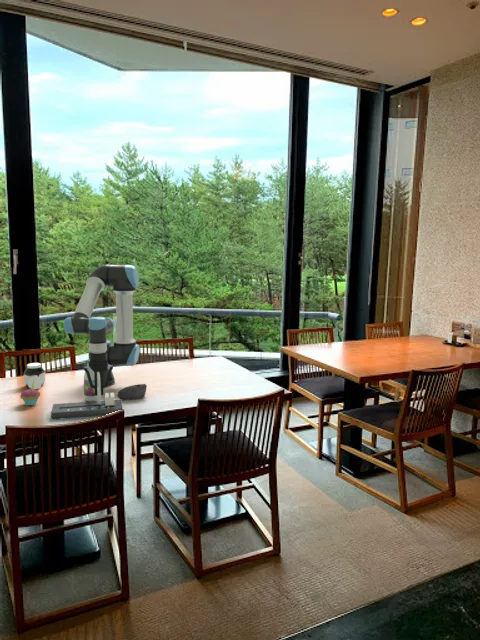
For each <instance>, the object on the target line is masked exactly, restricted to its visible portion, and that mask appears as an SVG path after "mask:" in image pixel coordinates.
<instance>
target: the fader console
mask: <svg viewBox="0 0 480 640" xmlns="http://www.w3.org/2000/svg"><path fill="white" fill-rule="evenodd" d="M114 401H115V405H109V406H105V400H101V403H98V401H91V402H89V401H81V402H78V401H77V402H65V403H63V402H62V403H52V404H53V405H52V408H51V412H50V416H51V418H50V419H53V420H61V419H60V418H66V419H76V418H77V419H78V418H89V417H103V415H105V416H107V415H106V414H109V413H112V412H115V411H118V410H122V411H123V405H122V404H123V403H122V399H120V398H119V399H114Z"/></svg>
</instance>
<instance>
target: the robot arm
mask: <svg viewBox="0 0 480 640" xmlns="http://www.w3.org/2000/svg"><path fill="white" fill-rule="evenodd" d="M139 278H140V277H139V272H138V270H137V268H136V266H135V265H130V264H103V265H100V266H98V267H97V268H95V269H94V270H92V272H91V273H90V274H89V275H88V277H87V279H86V281H85V288H84V290H83V293H82V295H81V297H80V300H79V301H78V304H77V306H76V309H75V311H74V313H73V315H72V317H71V316H68V317H66V318H65V319H64V320H63V330H64V332H65V333H67V334H72V335H88V339H89V340H88V344H89V345H88V352H87V353H88V359H90V362H89V365H88V366H84V367H83V371H84V373H85V372H86V374H87V377H88V380H89V384H90V387H91V388H94V389H95V396H97V399H98V403H101V401H102V396H104V395H105V393H104V388H108V387H109V386H113V385H115V383H116V379H115V376H114V374H113V370H114V366H126V367H129V366H131V367H133V366H135V365H136V364H137V362H138V360H139V356H140V345H139V344H137V340H136V339H135V338H134V318H133V317H134V315H133V314H134V311H133V310H134V309H133V308H134V307H133V305H134V304H133V302H134V301H133V300H134V299H133V298H134V297H133V294H134V293H135V292H136V289H137V288H138V287H139V285H140V284H139V283H140V279H139ZM106 287H111V288H112V292H113V293H115V310H116V311H115V317H116V318H115V319H116V322H115V321H114V320H113V318H111V317H109V316H107V317H104V316H93V317H91V316H92V313H93V311H94V309H95V306H96V305H97V301H98V299H99V296H100V294H101V292H103V291H104V289H105V288H106ZM115 327H116V328H115ZM114 329H116V338H115V339H114V340H113V343H112V341H111V340H109V339H108V338H107V336H108V335H109V334H111V333H112V332H113V331H114ZM89 368H91V369H92V370H93V372H94V383H95V385H93V383H92V379H91V376H90V372H89V370H90V369H89ZM97 372H99V374H100V386H101V387H100V388H97Z"/></svg>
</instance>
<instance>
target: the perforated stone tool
mask: <svg viewBox="0 0 480 640" xmlns="http://www.w3.org/2000/svg"><path fill="white" fill-rule="evenodd" d="M146 392H147V384H146V383H140V384H139V383H137V384H133V385H129V386H125V387H123V388H121V389H120V390H118V392H117V398H118V399H119V400H120V399H121V401H123V400H125V401H127V400H131V401H132V400H138V399H143V398H145V397H146Z"/></svg>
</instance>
